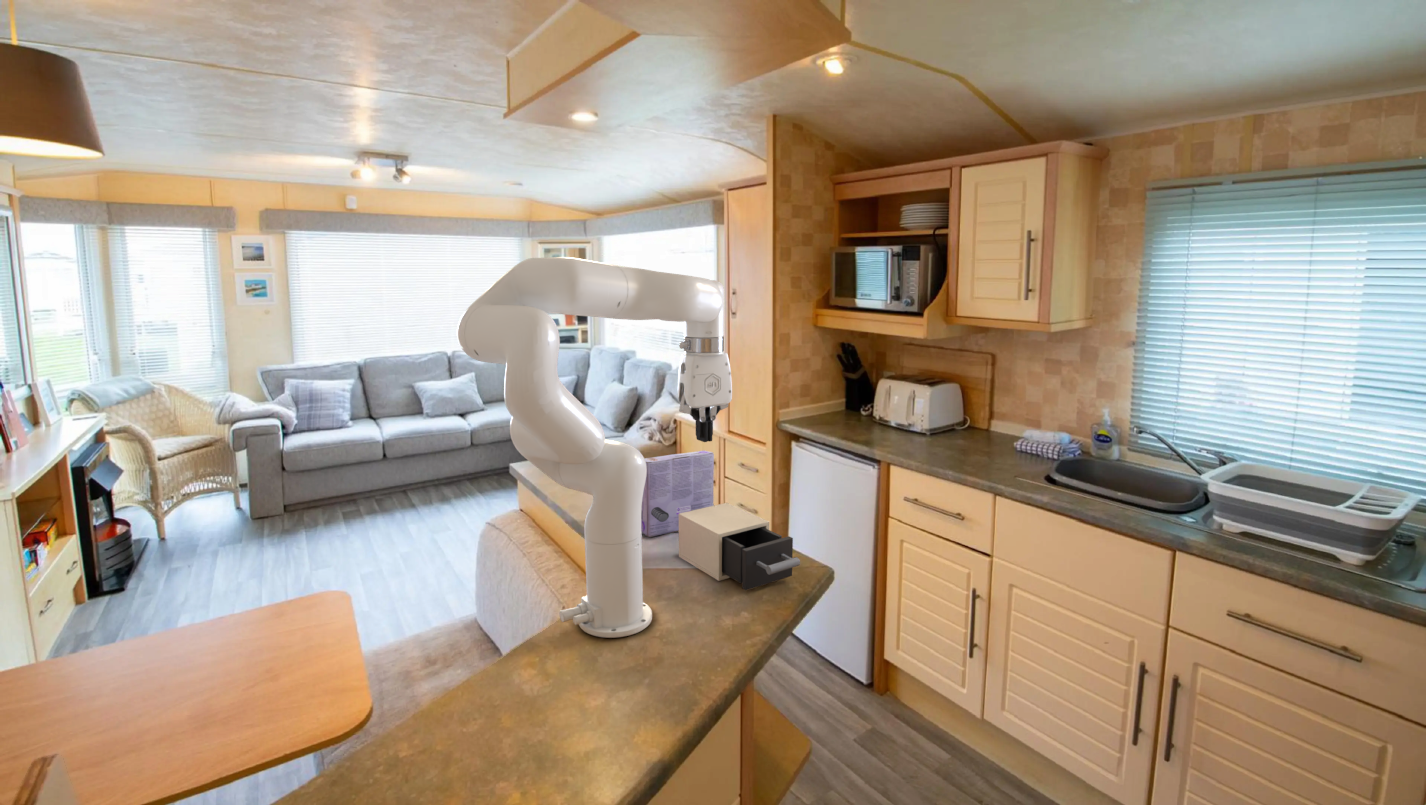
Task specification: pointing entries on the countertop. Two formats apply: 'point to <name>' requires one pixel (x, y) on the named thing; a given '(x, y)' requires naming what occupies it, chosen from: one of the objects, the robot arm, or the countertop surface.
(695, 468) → the cake pan box
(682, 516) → the cream drawer cabinet
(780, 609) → the countertop surface
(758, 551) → the black drawer
